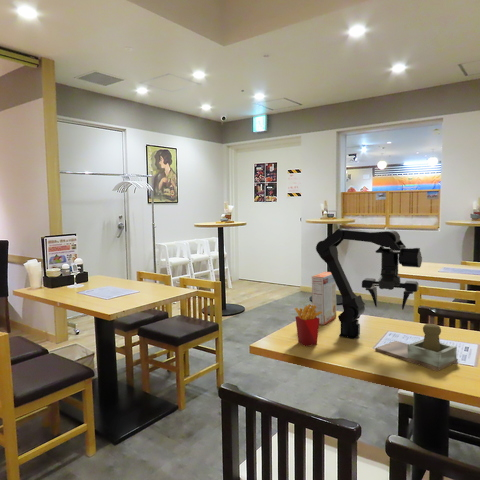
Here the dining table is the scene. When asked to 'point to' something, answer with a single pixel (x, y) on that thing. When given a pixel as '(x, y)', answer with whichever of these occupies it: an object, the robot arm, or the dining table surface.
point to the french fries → (307, 325)
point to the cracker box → (324, 296)
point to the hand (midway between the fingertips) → (389, 308)
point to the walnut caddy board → (421, 354)
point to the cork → (431, 337)
